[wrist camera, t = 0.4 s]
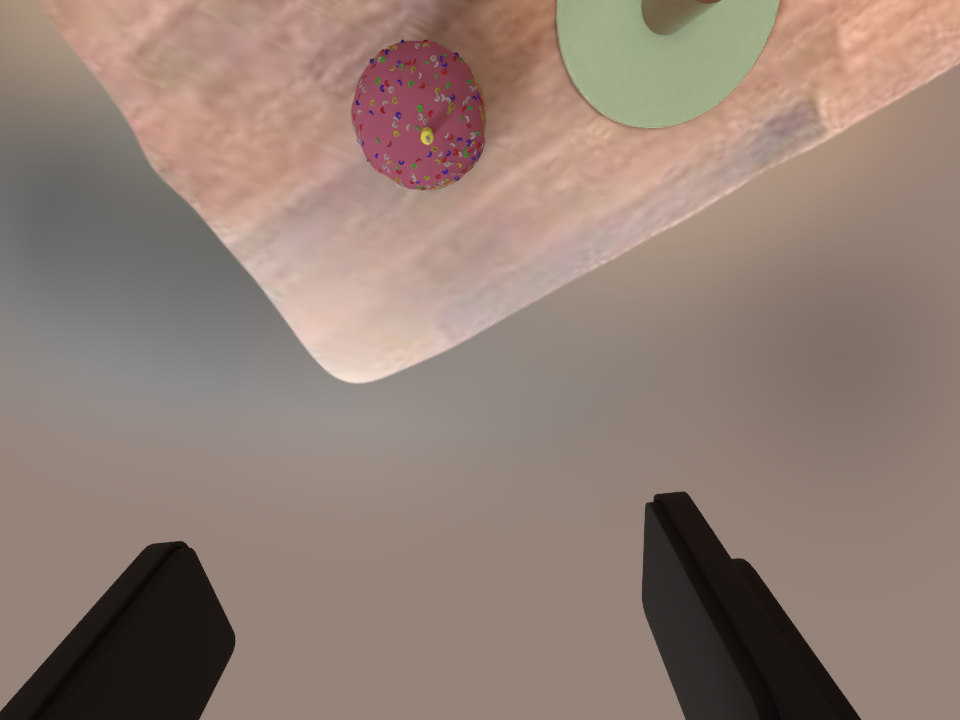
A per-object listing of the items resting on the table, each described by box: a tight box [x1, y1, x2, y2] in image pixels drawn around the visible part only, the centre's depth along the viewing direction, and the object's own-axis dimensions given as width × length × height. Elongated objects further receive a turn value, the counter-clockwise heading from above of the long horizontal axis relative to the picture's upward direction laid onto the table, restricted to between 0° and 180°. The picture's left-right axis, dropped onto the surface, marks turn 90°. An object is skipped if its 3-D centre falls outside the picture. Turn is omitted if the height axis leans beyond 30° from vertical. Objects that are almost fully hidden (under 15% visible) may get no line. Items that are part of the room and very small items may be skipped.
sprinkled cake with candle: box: [351, 40, 486, 190], centre depth 27 cm, size 9×8×12 cm
